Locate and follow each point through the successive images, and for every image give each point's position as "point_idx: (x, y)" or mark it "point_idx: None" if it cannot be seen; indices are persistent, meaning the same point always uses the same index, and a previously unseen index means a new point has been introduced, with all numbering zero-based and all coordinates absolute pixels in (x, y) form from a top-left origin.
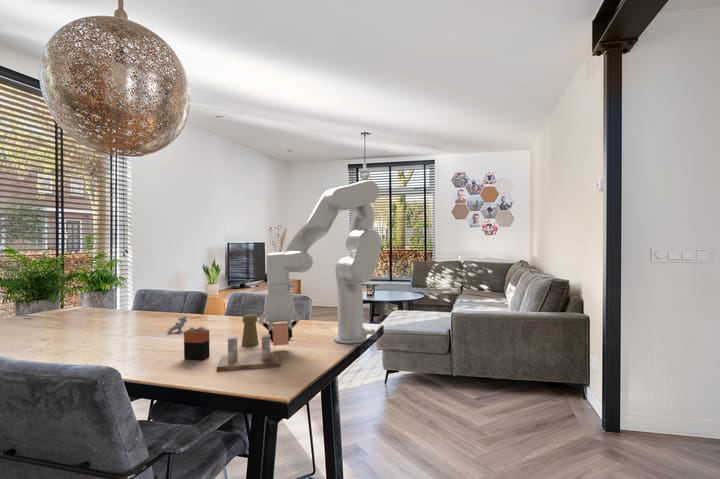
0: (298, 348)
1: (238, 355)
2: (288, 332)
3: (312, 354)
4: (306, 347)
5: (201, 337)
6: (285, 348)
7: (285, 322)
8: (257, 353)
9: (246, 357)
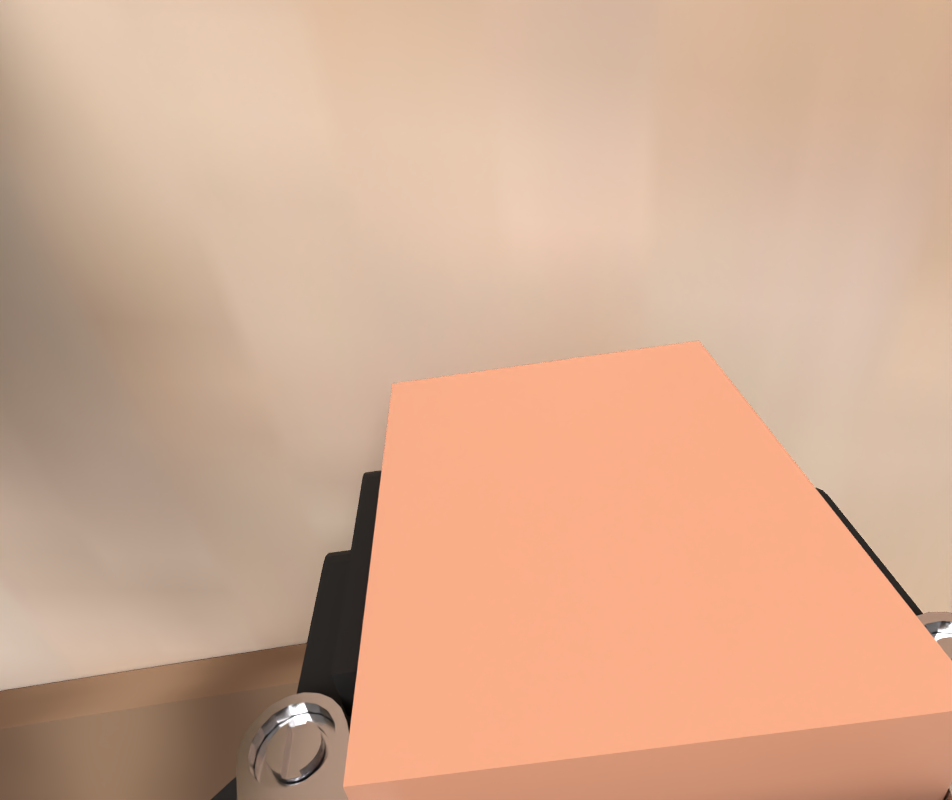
0: (810, 320)
1: (63, 748)
2: None
3: (911, 575)
4: (949, 270)
5: None
6: (602, 306)
7: (882, 759)
8: (272, 694)
9: (200, 791)
